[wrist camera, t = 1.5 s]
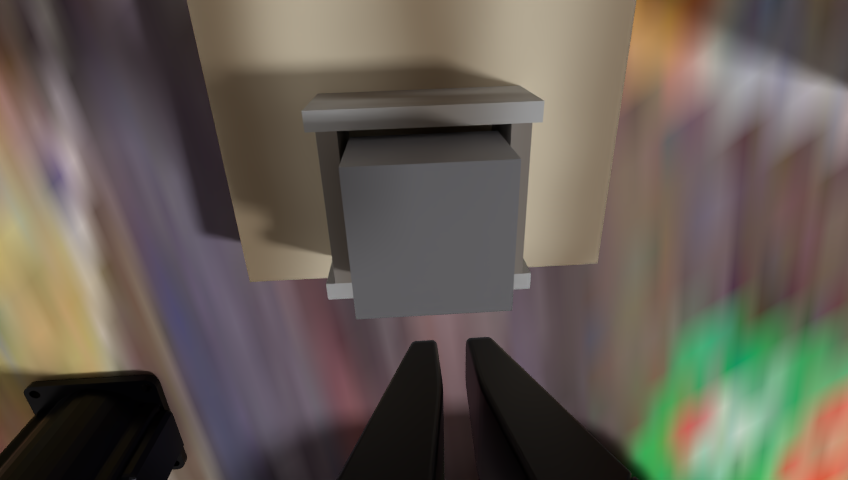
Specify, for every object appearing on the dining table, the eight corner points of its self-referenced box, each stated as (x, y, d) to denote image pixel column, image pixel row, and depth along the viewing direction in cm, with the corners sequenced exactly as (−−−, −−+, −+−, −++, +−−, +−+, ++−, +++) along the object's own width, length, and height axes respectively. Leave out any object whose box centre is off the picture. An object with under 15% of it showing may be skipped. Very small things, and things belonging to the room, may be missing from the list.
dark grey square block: (362, 267, 16) (356, 319, 13) (349, 136, 14) (338, 167, 11) (492, 260, 16) (512, 310, 13) (497, 130, 14) (521, 159, 11)
